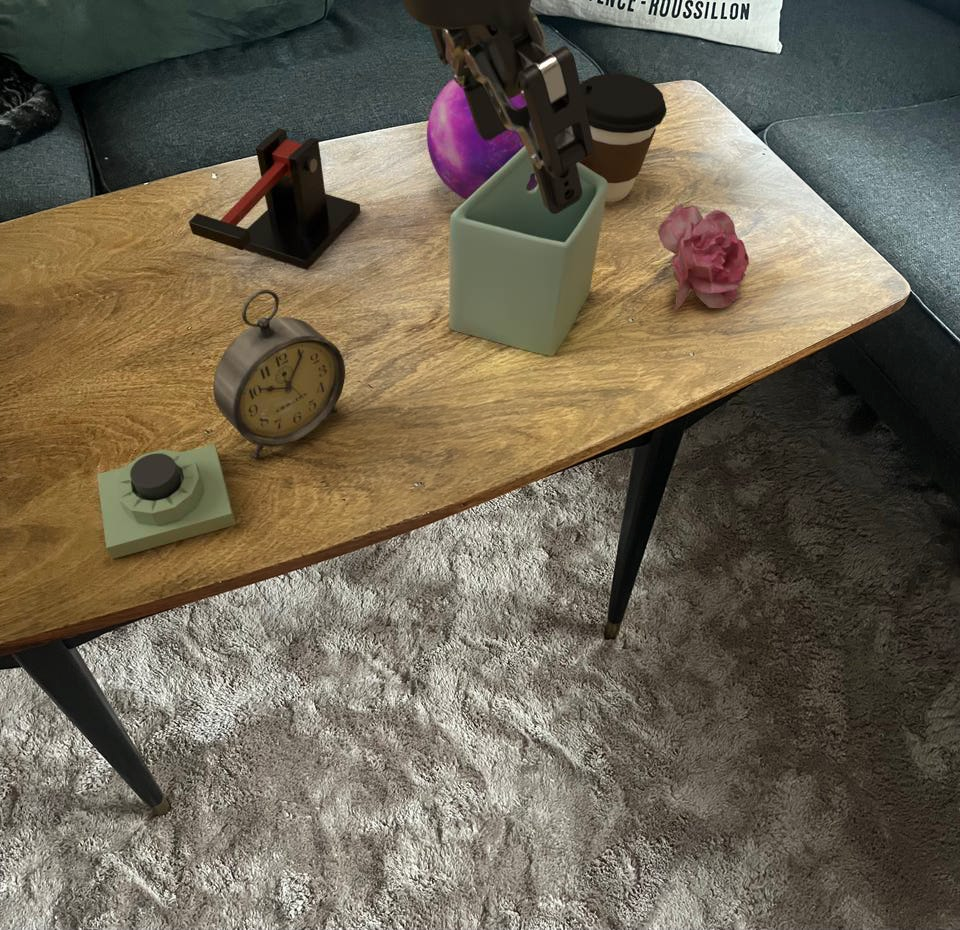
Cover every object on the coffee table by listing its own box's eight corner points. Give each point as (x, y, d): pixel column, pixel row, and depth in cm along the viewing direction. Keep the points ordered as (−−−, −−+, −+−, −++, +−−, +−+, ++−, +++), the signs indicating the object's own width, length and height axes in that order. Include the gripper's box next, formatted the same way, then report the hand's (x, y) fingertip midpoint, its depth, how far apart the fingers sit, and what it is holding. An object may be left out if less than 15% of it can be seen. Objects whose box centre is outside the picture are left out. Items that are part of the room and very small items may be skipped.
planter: (477, 377, 82) (485, 203, 66) (448, 326, 86) (448, 152, 71) (622, 336, 86) (661, 164, 71) (587, 290, 91) (616, 118, 75)
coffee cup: (553, 206, 100) (564, 111, 91) (567, 158, 107) (579, 65, 98) (643, 220, 99) (664, 125, 90) (652, 171, 106) (672, 78, 96)
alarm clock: (253, 476, 73) (212, 340, 61) (222, 440, 76) (176, 302, 63) (354, 417, 78) (336, 280, 65) (321, 385, 80) (298, 247, 68)
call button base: (112, 559, 68) (98, 535, 65) (103, 485, 72) (89, 460, 69) (236, 524, 70) (227, 500, 67) (219, 455, 75) (210, 430, 72)
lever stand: (307, 270, 91) (292, 183, 83) (238, 247, 93) (217, 160, 85) (360, 212, 98) (352, 126, 90) (295, 192, 100) (281, 107, 92)
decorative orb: (526, 243, 95) (537, 120, 84) (407, 212, 99) (402, 88, 87) (566, 176, 104) (581, 56, 93) (456, 149, 107) (457, 30, 96)
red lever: (243, 254, 82) (238, 235, 80) (193, 237, 83) (186, 218, 81) (322, 168, 90) (318, 148, 88) (275, 154, 91) (270, 134, 89)
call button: (139, 505, 67) (132, 492, 66) (133, 472, 69) (127, 459, 68) (184, 493, 68) (179, 480, 67) (177, 461, 70) (172, 448, 69)
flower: (741, 311, 94) (780, 288, 84) (657, 327, 93) (686, 305, 83) (720, 214, 95) (756, 179, 85) (636, 229, 94) (663, 195, 84)
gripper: (320, -126, 41) (428, 140, 54) (444, -12, 33) (533, 266, 46) (451, -204, 41) (525, 81, 54) (605, -109, 33) (647, 196, 46)
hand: (529, 166), depth 50 cm, fingers open, 8 cm apart
